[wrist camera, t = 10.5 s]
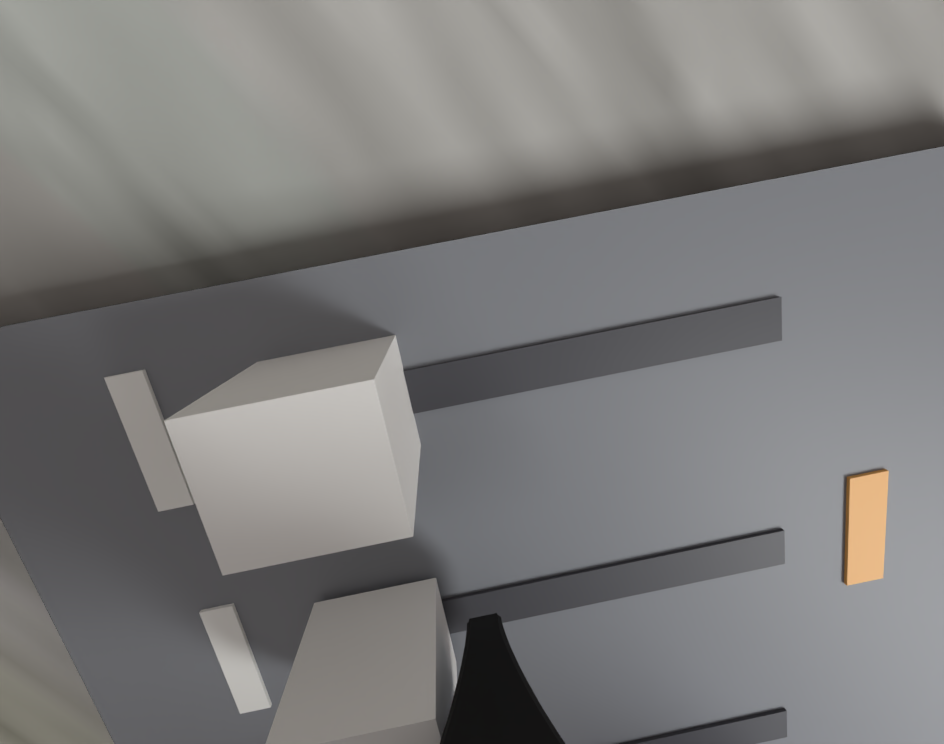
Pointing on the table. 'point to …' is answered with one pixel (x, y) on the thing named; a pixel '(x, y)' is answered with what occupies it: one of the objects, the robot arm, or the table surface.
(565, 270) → the breaker panel
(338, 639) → the handle
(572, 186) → the table surface
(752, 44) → the table surface
